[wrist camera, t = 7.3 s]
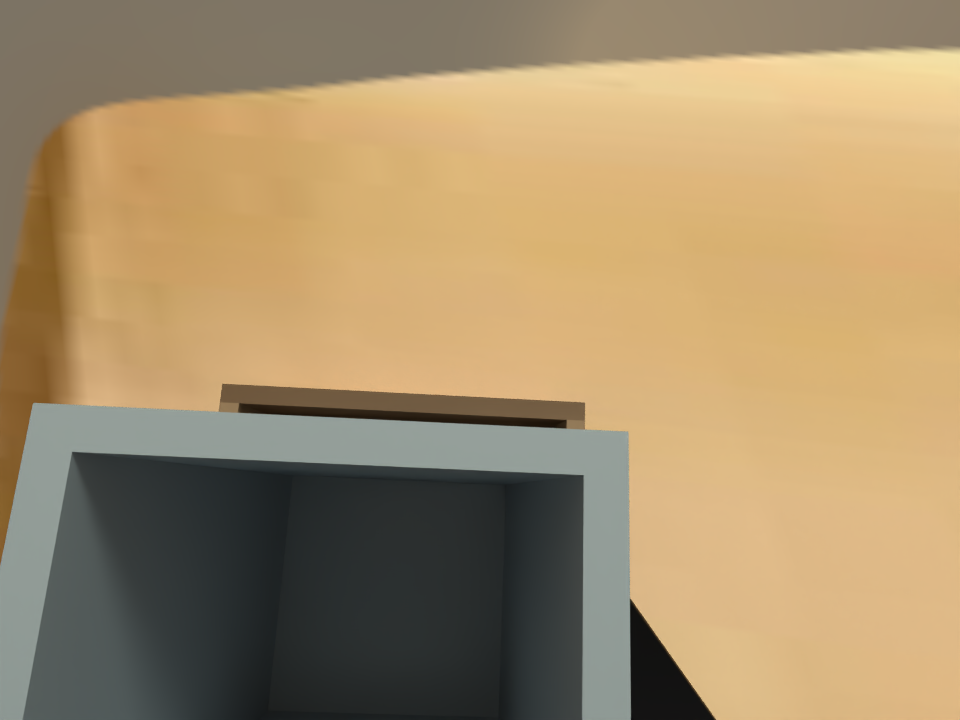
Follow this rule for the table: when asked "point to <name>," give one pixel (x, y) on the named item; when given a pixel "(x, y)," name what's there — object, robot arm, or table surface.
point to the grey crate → (313, 569)
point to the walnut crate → (401, 407)
